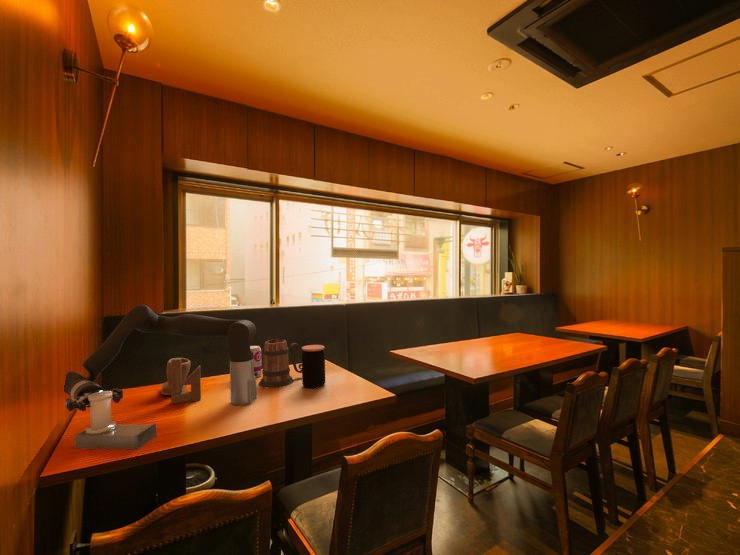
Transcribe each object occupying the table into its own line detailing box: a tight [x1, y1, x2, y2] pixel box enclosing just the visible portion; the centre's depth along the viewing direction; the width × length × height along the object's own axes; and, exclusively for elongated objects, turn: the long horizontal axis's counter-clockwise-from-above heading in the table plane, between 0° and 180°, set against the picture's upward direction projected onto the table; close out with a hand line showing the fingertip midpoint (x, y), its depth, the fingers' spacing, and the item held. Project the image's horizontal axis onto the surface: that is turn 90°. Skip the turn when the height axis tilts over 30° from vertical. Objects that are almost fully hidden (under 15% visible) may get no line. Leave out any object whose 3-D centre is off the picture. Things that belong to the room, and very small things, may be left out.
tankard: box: [258, 339, 302, 389], centre depth 172 cm, size 24×17×20 cm
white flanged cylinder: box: [88, 390, 113, 429], centre depth 111 cm, size 6×6×10 cm
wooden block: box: [170, 357, 202, 405], centre depth 146 cm, size 4×11×18 cm, turn 114°
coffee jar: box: [301, 344, 326, 390], centre depth 164 cm, size 11×11×18 cm
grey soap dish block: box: [74, 420, 157, 450], centre depth 111 cm, size 20×8×5 cm, turn 86°
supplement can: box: [250, 345, 263, 378], centre depth 181 cm, size 8×8×15 cm
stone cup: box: [160, 357, 192, 396], centre depth 159 cm, size 15×12×15 cm
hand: (101, 403), depth 110 cm, fingers open, 8 cm apart
